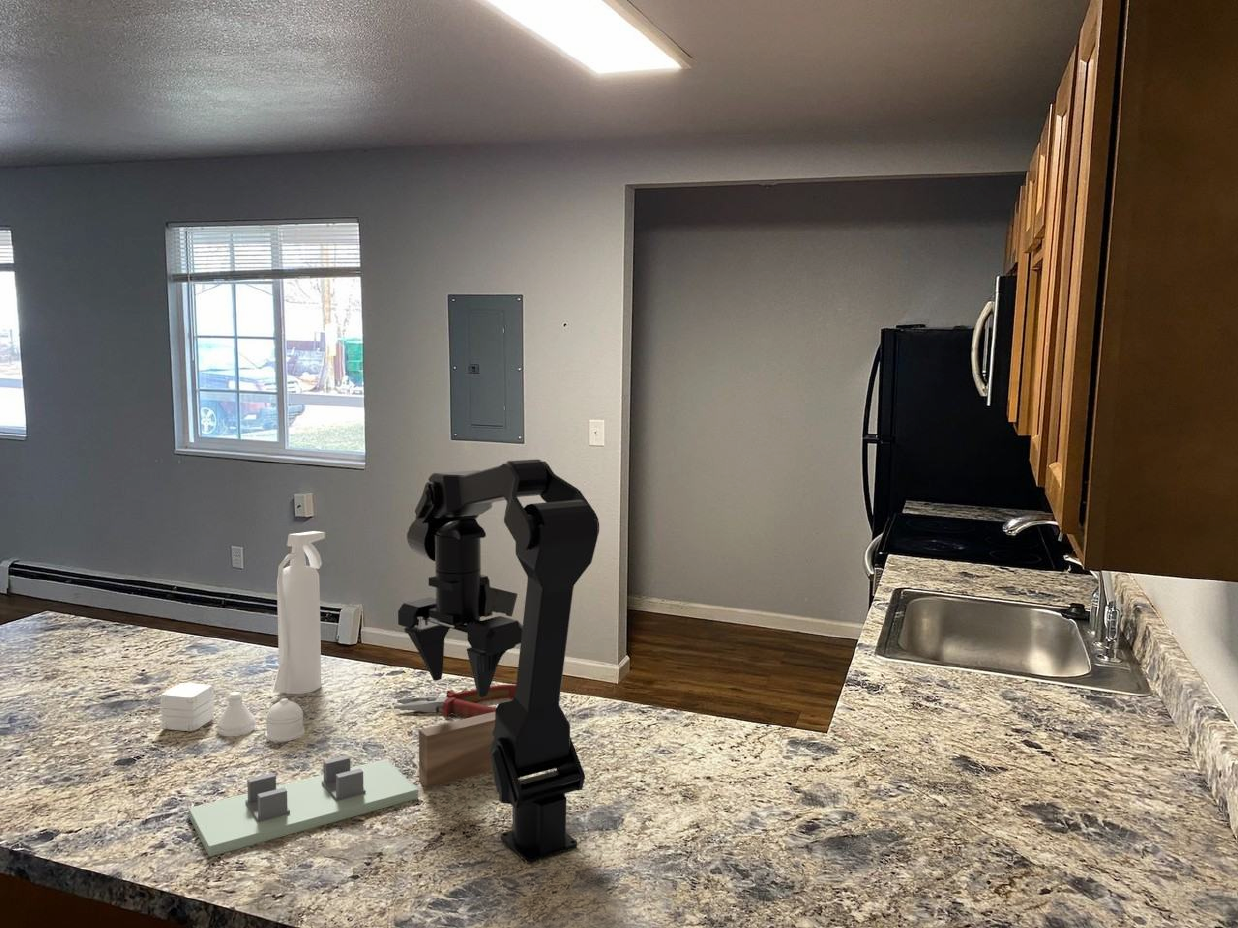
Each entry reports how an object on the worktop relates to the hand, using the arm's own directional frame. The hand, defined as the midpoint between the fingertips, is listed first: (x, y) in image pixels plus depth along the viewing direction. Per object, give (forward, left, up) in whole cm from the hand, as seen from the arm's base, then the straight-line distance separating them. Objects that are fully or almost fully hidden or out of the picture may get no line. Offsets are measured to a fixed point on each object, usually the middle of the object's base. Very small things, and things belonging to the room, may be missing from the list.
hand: (459, 687), depth 123 cm
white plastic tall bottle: (+40, +9, -11) cm, 42 cm away
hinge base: (+1, +20, -11) cm, 23 cm away
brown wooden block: (-1, 0, -11) cm, 11 cm away
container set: (+29, +21, -12) cm, 37 cm away
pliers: (+19, -11, -12) cm, 25 cm away
